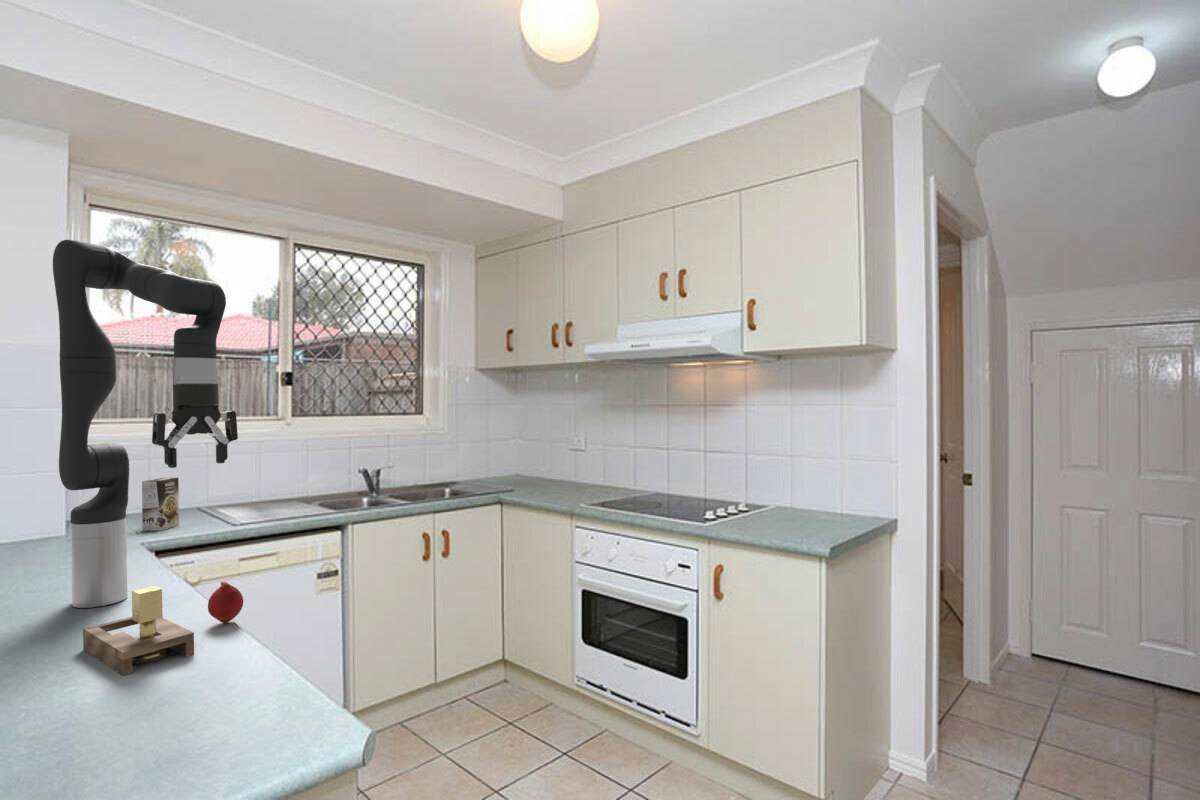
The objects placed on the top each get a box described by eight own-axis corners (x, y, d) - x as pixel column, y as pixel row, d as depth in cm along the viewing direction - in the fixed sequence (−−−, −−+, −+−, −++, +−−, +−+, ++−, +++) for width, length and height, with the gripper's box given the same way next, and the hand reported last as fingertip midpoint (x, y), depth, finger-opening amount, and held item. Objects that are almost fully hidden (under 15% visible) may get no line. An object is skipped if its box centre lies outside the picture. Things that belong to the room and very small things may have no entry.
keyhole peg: (125, 659, 106) (124, 591, 106) (158, 649, 110) (157, 583, 110) (137, 665, 103) (135, 596, 103) (170, 655, 107) (169, 588, 107)
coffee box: (161, 530, 207) (160, 480, 207) (141, 531, 207) (140, 481, 207) (180, 525, 216) (179, 477, 216) (161, 525, 216) (160, 477, 216)
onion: (236, 615, 126) (235, 575, 126) (248, 622, 123) (248, 580, 122) (203, 624, 122) (202, 581, 122) (215, 631, 118) (214, 587, 118)
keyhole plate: (83, 649, 110) (82, 628, 110) (150, 631, 118) (150, 612, 118) (123, 675, 99) (122, 652, 99) (194, 653, 108) (193, 632, 108)
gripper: (225, 382, 133) (226, 460, 133) (145, 381, 121) (146, 467, 122) (243, 382, 128) (244, 463, 129) (161, 381, 117) (162, 470, 117)
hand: (196, 465), depth 125 cm, fingers open, 8 cm apart
